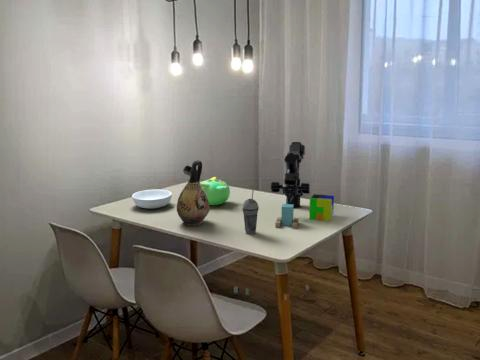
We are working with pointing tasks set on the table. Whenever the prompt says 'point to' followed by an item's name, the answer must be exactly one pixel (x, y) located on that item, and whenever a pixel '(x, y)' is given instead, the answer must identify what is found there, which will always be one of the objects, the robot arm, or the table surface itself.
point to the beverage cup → (250, 215)
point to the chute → (279, 221)
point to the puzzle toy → (321, 207)
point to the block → (287, 214)
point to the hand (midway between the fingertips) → (288, 202)
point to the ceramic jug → (193, 198)
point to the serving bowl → (152, 198)
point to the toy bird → (216, 191)
